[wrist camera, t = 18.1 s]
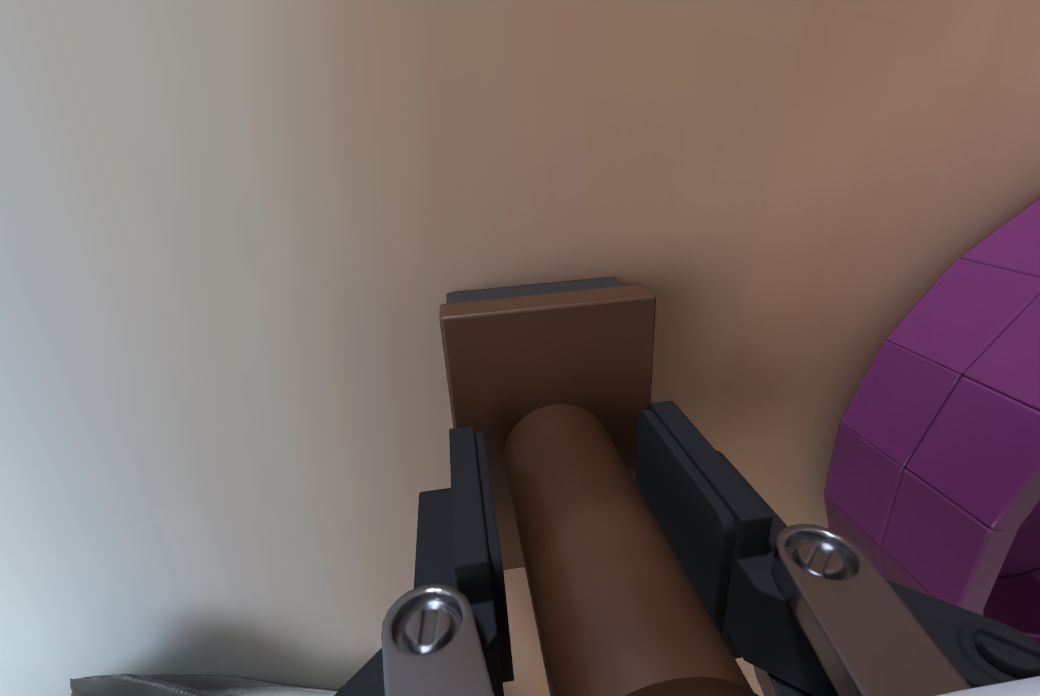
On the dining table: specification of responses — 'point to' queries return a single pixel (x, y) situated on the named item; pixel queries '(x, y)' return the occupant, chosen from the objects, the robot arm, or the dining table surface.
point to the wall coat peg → (581, 485)
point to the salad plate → (185, 686)
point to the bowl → (954, 437)
